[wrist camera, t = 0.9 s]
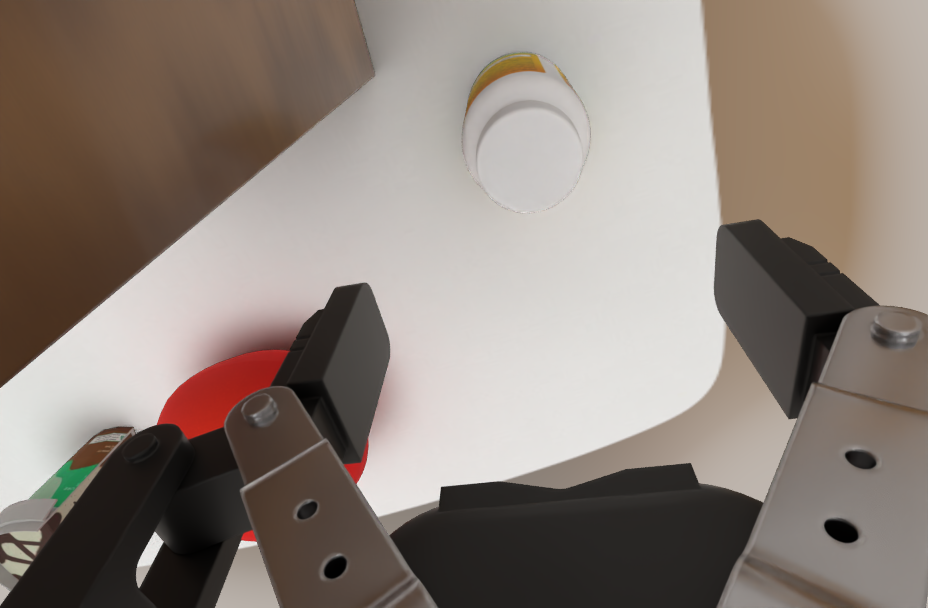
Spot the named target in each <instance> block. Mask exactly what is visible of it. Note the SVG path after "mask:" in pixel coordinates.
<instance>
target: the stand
mask: <svg viewBox="0 0 928 608" xmlns="http://www.w3.org/2000/svg"><path fill="white" fill-rule="evenodd" d="M374 76H375V72H374V69H373V65H372V62H371V58H370V55H369V51H368V48H367V44H366V40H365V37H364V33H363V30H362V26H361V23H360V19H359V16H358V12H357V9H356V5H355V2H354V0H0V388H1V387H2V386H3V385H4V384H6V383H7V382H8V381H9V380H10V379H12V378H13V377H14V376H15V375H16V374H18V373H19V372H20V371H21V370H22V369H24V368H25V367H26V366H27V365H28V364H30V363H31V362H32V361H33V360H34V359H36V358H37V357H38V356H39V355H40V354H42V353H43V352H44V351H45V350H46V349H48V348H49V347H50V346H51V345H52V344H54V343H55V342H56V341H57V340H58V339H60V338H61V337H62V336H63V335H64V334H66V333H67V332H68V331H69V330H70V329H72V328H73V327H74V326H75V325H76V324H78V323H79V322H80V321H81V320H82V319H84V318H85V317H86V316H87V315H88V314H90V313H91V312H92V311H93V310H94V309H96V308H97V307H98V306H99V305H100V304H102V303H103V302H104V301H105V300H106V299H108V298H109V297H110V296H111V295H112V294H114V293H115V292H116V291H117V290H118V289H120V288H121V287H122V286H123V285H124V284H126V283H127V282H128V281H129V280H130V279H132V278H133V277H134V276H135V275H136V274H138V273H139V272H140V271H141V270H142V269H144V268H145V267H146V266H147V265H148V264H150V263H151V262H152V261H153V260H154V259H156V258H157V257H158V256H159V255H160V254H162V253H163V252H164V251H165V250H166V249H168V248H169V247H170V246H171V245H173V244H174V243H175V242H176V241H177V240H179V239H180V238H181V237H182V236H183V235H185V234H186V233H187V232H188V231H189V230H191V229H192V228H193V227H194V226H195V225H197V224H198V223H199V222H200V221H201V220H203V219H204V218H205V217H206V216H207V215H209V214H210V213H211V212H212V211H213V210H215V209H216V208H217V207H218V206H219V205H221V204H222V203H223V202H224V201H225V200H227V199H228V198H229V197H230V196H231V195H233V194H234V193H235V192H236V191H237V190H239V189H240V188H241V187H242V186H243V185H245V184H246V183H247V182H248V181H249V180H251V179H252V178H253V177H254V176H255V175H257V174H258V173H259V172H260V171H261V170H263V169H264V168H265V167H266V166H267V165H269V164H270V163H271V162H272V161H273V160H275V159H276V158H277V157H278V156H279V155H281V154H282V153H283V152H284V151H285V150H287V149H288V148H289V147H290V146H291V145H293V144H294V143H295V142H296V141H297V140H299V139H300V138H301V137H302V136H303V135H305V134H306V133H307V132H308V131H309V130H311V129H312V128H313V127H314V126H315V125H317V124H318V123H319V122H320V121H321V120H323V119H324V118H325V117H326V116H327V115H329V114H330V113H331V112H332V111H333V110H335V109H336V108H337V107H338V106H339V105H341V104H342V103H343V102H344V101H345V100H347V99H348V98H349V97H350V96H351V95H353V94H354V93H355V92H356V91H357V90H359V89H360V88H361V87H362V86H363V85H365V84H366V83H367V82H368V81H369V80H371V79H372V78H373V77H374Z"/></svg>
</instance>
